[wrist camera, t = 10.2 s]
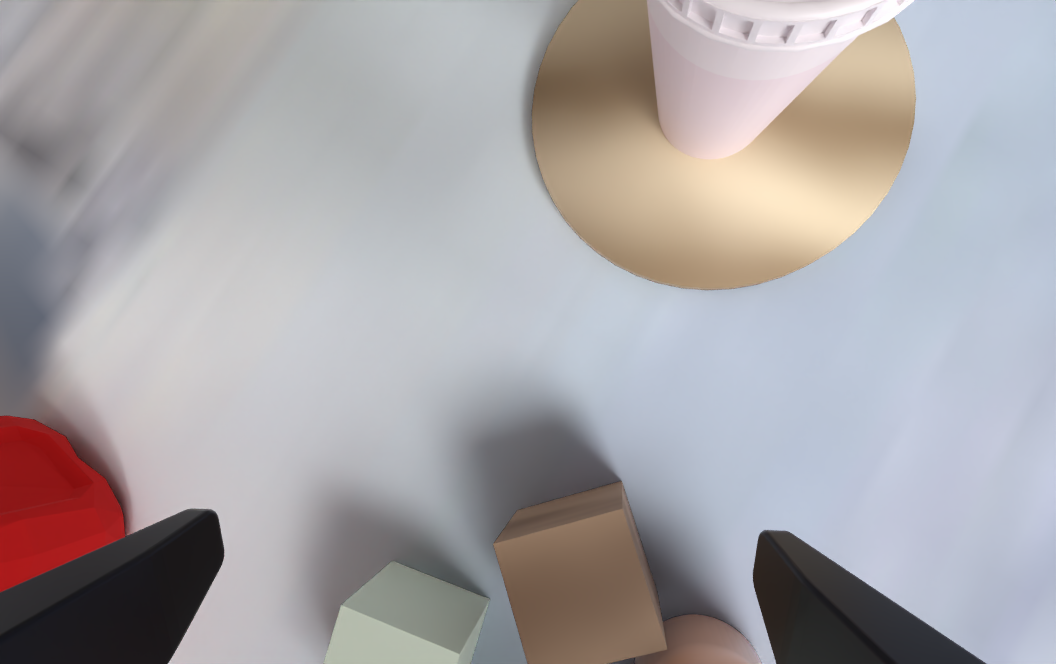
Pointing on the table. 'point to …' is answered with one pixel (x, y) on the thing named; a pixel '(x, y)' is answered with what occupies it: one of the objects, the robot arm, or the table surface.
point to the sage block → (407, 621)
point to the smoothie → (745, 62)
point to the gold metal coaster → (714, 184)
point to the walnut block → (580, 580)
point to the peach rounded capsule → (701, 643)
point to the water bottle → (48, 503)
